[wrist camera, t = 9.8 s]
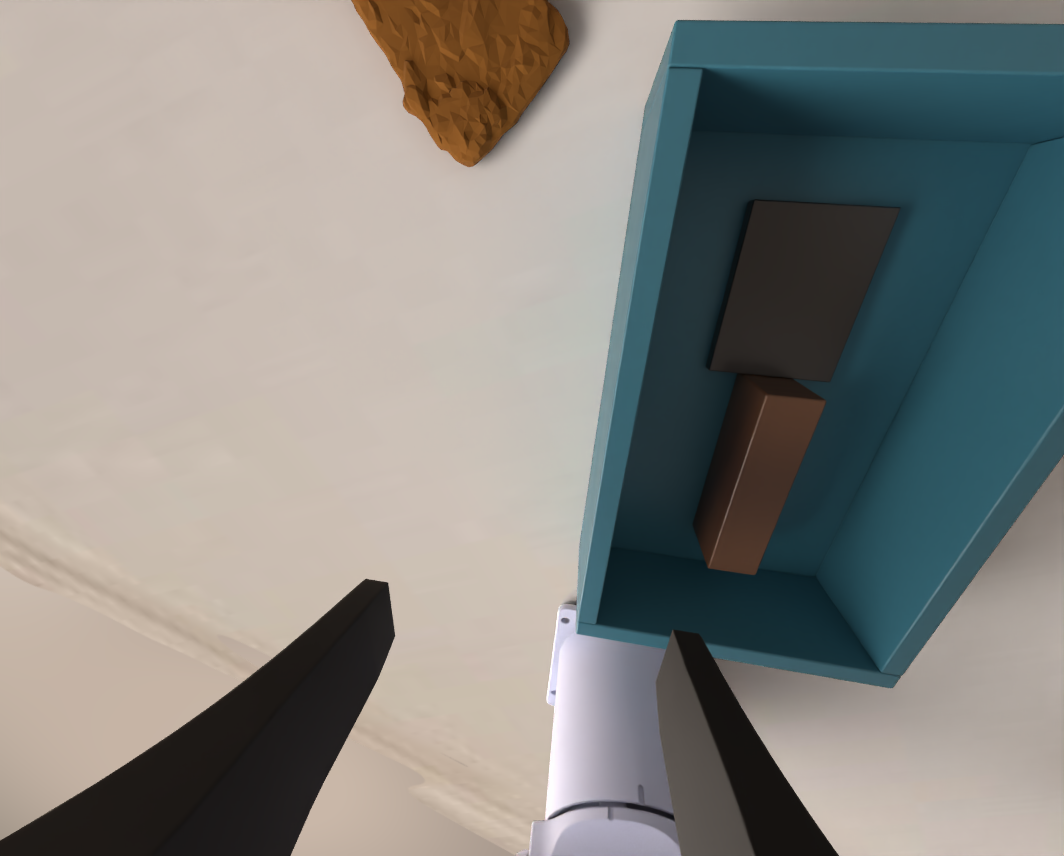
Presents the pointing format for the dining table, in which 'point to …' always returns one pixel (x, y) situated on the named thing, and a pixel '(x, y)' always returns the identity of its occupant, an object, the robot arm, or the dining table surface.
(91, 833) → the robot arm
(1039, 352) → the bin
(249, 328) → the dining table surface
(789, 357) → the scraper
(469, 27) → the primitive tool
